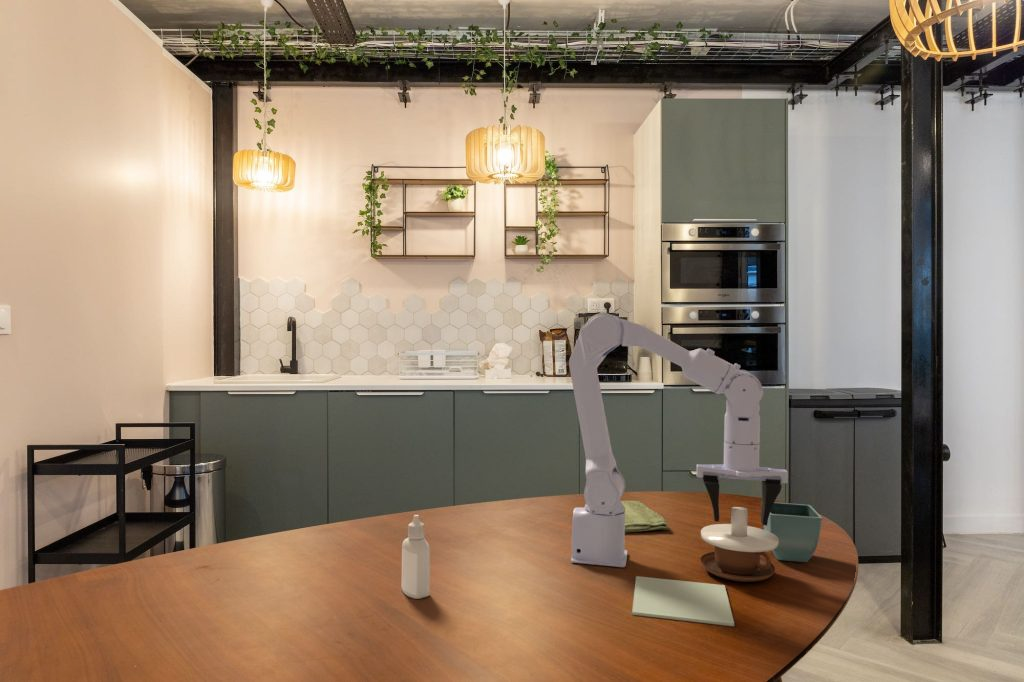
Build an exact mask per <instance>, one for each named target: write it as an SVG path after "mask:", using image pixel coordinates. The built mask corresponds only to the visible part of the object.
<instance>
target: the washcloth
mask: <svg viewBox="0 0 1024 682" xmlns="http://www.w3.org/2000/svg"><path fill="white" fill-rule="evenodd" d="M621 503H622V504H623V505H624V507H625V534H626V533H632V532H633V533H640V532H641V533H642V532H647V531H665V530H667V531H669V525H668V521H667V520H666V518H664V517H663V515H661V514H659V512H657V511H654V509H650V508H649V507H648V506H647V505H646V504H644V503H642V502H641V501H639V500H621Z"/></svg>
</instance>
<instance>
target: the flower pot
mask: <svg viewBox="0 0 1024 682" xmlns="http://www.w3.org/2000/svg"><path fill="white" fill-rule="evenodd" d="M761 504H762V501H761ZM822 521H823V517H822V516H821V515H820V514H819V512H817V511H816V509H815V508H813V506H812V505H810V504H804V503H786V502H784V503H783V502H776V501H775V502H774V504H773V506H772V508H771V511H770V514H769V518H768V523H767V525H763V530H766V531H768V532H771V533H773V534H774V535H776V536H777V537H778V539H779V545H778V547H777V548H776V549H774V550H771V551H772V553H773V555H774V556H775V558H776V560H779V561H785V562H786V561H787V562H798V563H799V562H800V563H808V561H809V560H810V559H811V558H812V556H813V555H814V553H815V552H816V549H817V548H818V546H819V545H818V544H819V541H820V534H821V533H820V532H821V528H822Z"/></svg>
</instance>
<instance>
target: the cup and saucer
mask: <svg viewBox="0 0 1024 682" xmlns="http://www.w3.org/2000/svg"><path fill="white" fill-rule="evenodd" d="M761 556H763V557H764V558H763V557H761ZM699 562H700V564H701V566H702V567H703V568H704V569H705V570H706V571H707V572H709V573H710V574H712V575H714V576H716V577H719V578H722V579H725V580H727V581H728V580H729V581H734V582H740V583H741V582H744V583H751V582H753V583H754V582H761V581H765V580H767V579H770V577H771V576H773V575H774V574H775V570H776V567H775V565H774V564H773V563H772V561H771V558H770V556H769V554H767V552H766V551H765V552H742V551H734V550H728V549H724V548H720V547H717V546H714V551H711V552H706V553H704V554H703V555H701V556H700V561H699Z"/></svg>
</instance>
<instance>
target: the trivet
mask: <svg viewBox="0 0 1024 682" xmlns="http://www.w3.org/2000/svg"><path fill="white" fill-rule="evenodd" d="M634 583H635V584H634V591H633V601H632V608H631V609H632V611H631V614H632V615H633V616H640V617H647V618H659V619H667V620H675V621H676V620H677V621H685V622H694V623H702V624H709V625H710V624H711V625H718V626H728V627H735V620H734V617H733V612H732V609H731V605H730V601H729V600H730V599H729V597H728V594H727V590H726V585H725V584H717V583H716V584H715V583H707V582H698V581H697V582H696V581H688V580H687V581H686V580H678V579H677V580H676V579H670V578H669V579H668V578H658V577H657V578H655V577H648V576H638V575H637V576H635V582H634Z"/></svg>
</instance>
